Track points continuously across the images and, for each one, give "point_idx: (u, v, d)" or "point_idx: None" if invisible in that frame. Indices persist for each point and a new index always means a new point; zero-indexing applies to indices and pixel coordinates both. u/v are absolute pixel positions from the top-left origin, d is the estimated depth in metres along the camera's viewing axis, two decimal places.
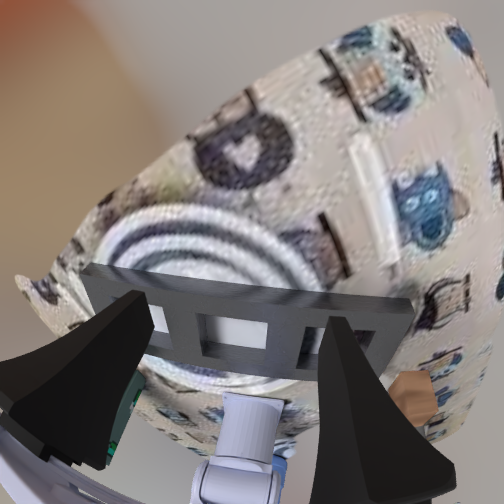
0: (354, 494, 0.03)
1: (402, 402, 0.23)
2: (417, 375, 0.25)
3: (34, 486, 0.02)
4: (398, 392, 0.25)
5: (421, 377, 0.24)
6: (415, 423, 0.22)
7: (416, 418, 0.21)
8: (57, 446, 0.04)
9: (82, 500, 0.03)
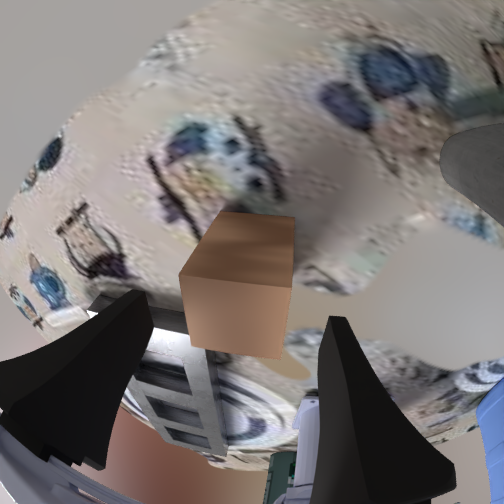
0: (354, 494, 0.03)
1: None
2: None
3: (34, 486, 0.02)
4: None
5: None
6: (252, 318, 0.10)
7: (213, 327, 0.11)
8: (57, 446, 0.04)
9: (82, 500, 0.03)
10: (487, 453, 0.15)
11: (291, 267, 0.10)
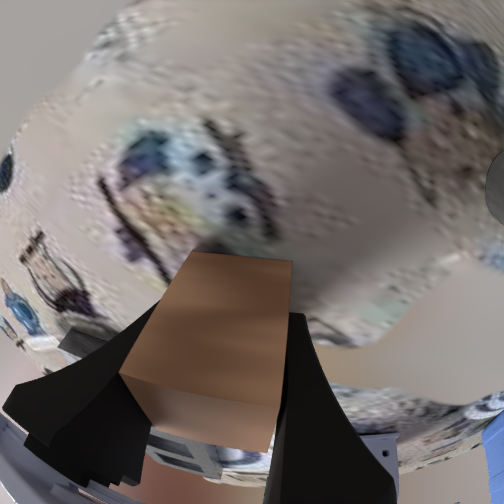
0: (276, 495, 0.03)
1: None
2: None
3: (34, 486, 0.02)
4: None
5: None
6: (225, 425, 0.06)
7: (178, 423, 0.07)
8: (98, 470, 0.04)
9: (82, 500, 0.03)
10: (491, 478, 0.12)
11: (282, 364, 0.06)
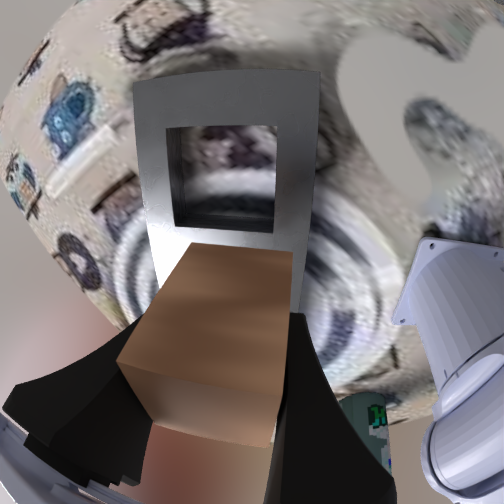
0: (276, 495, 0.03)
1: None
2: None
3: (34, 486, 0.02)
4: None
5: None
6: (225, 417, 0.06)
7: (176, 416, 0.07)
8: (97, 470, 0.04)
9: (82, 500, 0.03)
10: None
11: (284, 352, 0.06)
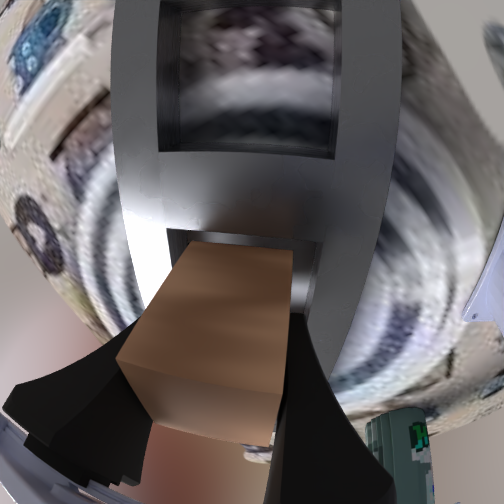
0: (276, 495, 0.03)
1: None
2: None
3: (34, 486, 0.02)
4: None
5: None
6: (225, 415, 0.06)
7: (176, 414, 0.07)
8: (97, 470, 0.04)
9: (82, 500, 0.03)
10: None
11: (284, 350, 0.06)
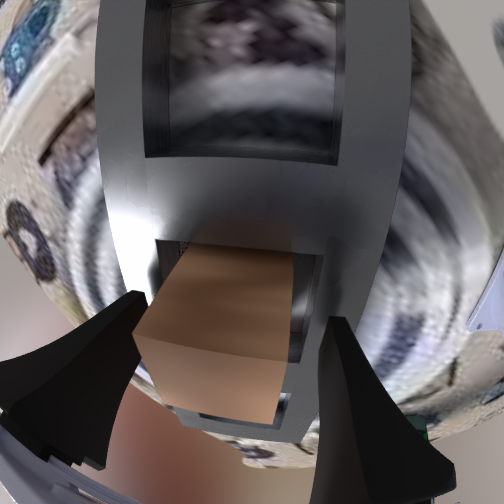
0: (354, 494, 0.03)
1: None
2: None
3: (34, 486, 0.02)
4: None
5: None
6: (233, 389, 0.07)
7: (186, 391, 0.08)
8: (57, 446, 0.04)
9: (82, 500, 0.03)
10: None
11: (288, 324, 0.07)
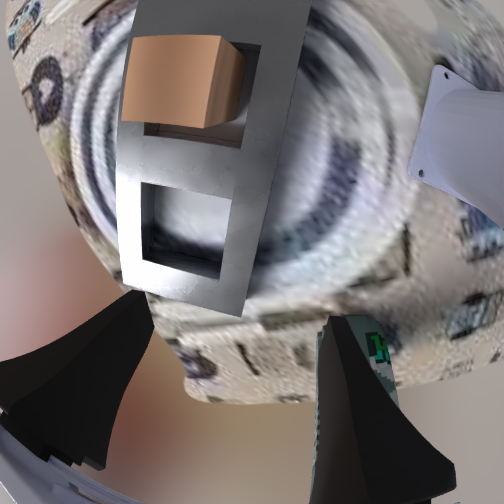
0: (354, 494, 0.03)
1: None
2: None
3: (34, 486, 0.02)
4: None
5: None
6: (182, 71, 0.09)
7: (146, 88, 0.09)
8: (57, 446, 0.04)
9: (82, 500, 0.03)
10: None
11: (227, 41, 0.09)
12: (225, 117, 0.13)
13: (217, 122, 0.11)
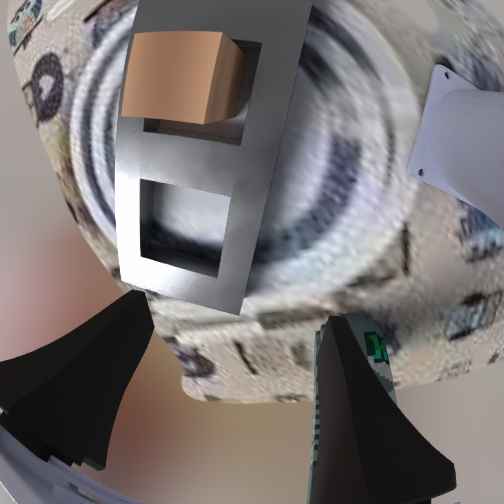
0: (354, 494, 0.03)
1: None
2: None
3: (34, 486, 0.02)
4: None
5: None
6: (183, 67, 0.09)
7: (147, 83, 0.09)
8: (57, 446, 0.04)
9: (82, 500, 0.03)
10: None
11: (228, 38, 0.09)
12: (225, 114, 0.13)
13: (217, 119, 0.11)
